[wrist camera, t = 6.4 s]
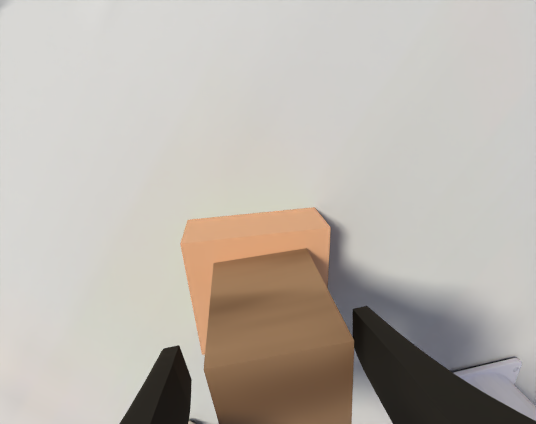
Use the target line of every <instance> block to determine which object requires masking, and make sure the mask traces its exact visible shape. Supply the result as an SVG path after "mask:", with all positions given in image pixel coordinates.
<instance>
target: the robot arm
mask: <svg viewBox="0 0 536 424" xmlns="http://www.w3.org/2000/svg"><path fill="white" fill-rule="evenodd" d="M353 339H354V348H355V351H356V353H357V356H358V358H359V360H360V363H361V365H362V367H363V370H364V372H365V373H366V375H367V377H368V379H369V381H370V383H371V384H372V386H373V388H374V390H375V392H376V394H377V395H378V397H379V399H380V401H381V403H382V404H383V406H384V408H385V410H386V412H387V414H388V415H389V417H390V419H391V421H392V423H393V424H536V406H535V405H534V404H533V403H532V402H531V401H530V400H529V399H528V398H527V397H526V396H525V395H524V394H523V393H522V392H521V391H520V390H519V389H518V388H517V387H516V386H515V382H516V379H517V376H518V374H519V371H520V368H521V366H522V362H521V361H520V360H519V359H518V358H512V359H508V360H504V361H499V362H495V363H491V364H487V365H483V366H478V367H474V368H470V369H466V370H461V371H457V372H453V373H452V372H451V371H449V370H448V369H446V368H445V367H444V366H442V365H441V364H439V363H438V362H436V361H435V360H434V359H432V358H431V357H430V356H428V355H427V354H425V353H424V352H423V351H421V350H420V349H419V348H417V347H416V346H415V345H414V344H412V343H411V342H410V341H408V340H407V339H406V338H405V337H403V336H402V335H401V334H400V333H398V332H397V331H396V330H395V329H394V328H392V327H391V326H390V325H389V324H387V323H386V322H385V321H384V320H383V319H382V318H380V317H379V316H378V315H377V314H376V313H375V312H373V311H372V310H371V309H370V308H369V307H367V306H365V307H360V308H355V309H353ZM190 403H191V377H190V374H189V371H188V369H187V366H186V363H185V360H184V357H183V355H182V352H181V349H180V346H174V347H169V348H164V349H163V350H162V351H161V353H160V355H159V357H158V359H157V361H156V363H155V364H154V366H153V368H152V370H151V372H150V373H149V375H148V377H147V379H146V381H145V382H144V384H143V386H142V388H141V389H140V391H139V393H138V394H137V396H136V398H135V399H134V401H133V403H132V404H131V406H130V408H129V409H128V411H127V413H126V414H125V416H124V417H123V419H122V420H121V422H120V424H188V421H189V414H190Z"/></svg>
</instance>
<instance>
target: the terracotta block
mask: <svg viewBox="0 0 536 424" xmlns="http://www.w3.org/2000/svg"><path fill="white" fill-rule="evenodd" d="M330 229H331V227H330V226H329V225H328V224H327V222H326V221H325V220H324V219H323V217H322V216H321V215H320V214H319V213H318V211H317V210H316V209H315V208H314V207H313V208H303V209H293V210H283V211H273V212H263V213H252V214H242V215H232V216H222V217H212V218H202V219H192V220H188V221H187V224H186V227H185V230H184V234H183V237H182V240H181V243H180V244H181V249H182V254H183V259H184V265H185V270H186V275H187V280H188V285H189V290H190V295H191V300H192V305H193V310H194V315H195V321H196V326H197V331H198V336H199V341H200V346H201V351H202V355H204V354H205V350H206V339H207V328H208V317H209V306H210V296H211V285H212V274H213V263H217V262H223V261H230V260H236V259H242V258H248V257H255V256H261V255H267V254H273V253H280V252H286V251H292V250H299V249H305V248H307V250H308V252H309V254H310V256H311V258H312V260H313V262H314V264H315V266H316V268H317V270H318V272H319V274H320V275H321V277H322V279H323V281H324V283H325V285H326V287H327V288H328V268H329V249H330Z"/></svg>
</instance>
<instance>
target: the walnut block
mask: <svg viewBox="0 0 536 424" xmlns="http://www.w3.org/2000/svg"><path fill="white" fill-rule="evenodd" d="M353 362H354V339H353V337H352V336H351V334H350V332H349V330H348V328H347V326H346V324H345V322H344V320H343V318H342V316H341V314H340V312H339V310H338V308H337V306H336V305H335V303H334V301H333V299H332V297H331V295H330V293H329V291H328V289H327V287H326V285H325V283H324V281H323V279H322V277H321V275H320V274H319V272H318V270H317V268H316V266H315V264H314V262H313V260H312V258H311V256H310V254H309V252H308V250H307V248H305V249H299V250H292V251H286V252H280V253H273V254H267V255H261V256H255V257H248V258H242V259H236V260H230V261H223V262H217V263H213V274H212V285H211V296H210V306H209V317H208V328H207V339H206V350H205V361H204V372H205V376H206V379H207V383H208V386H209V390H210V393H211V397H212V400H213V404H214V407H215V411H216V414H217V418H218V421H219V424H351V418H352V390H353Z"/></svg>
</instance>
